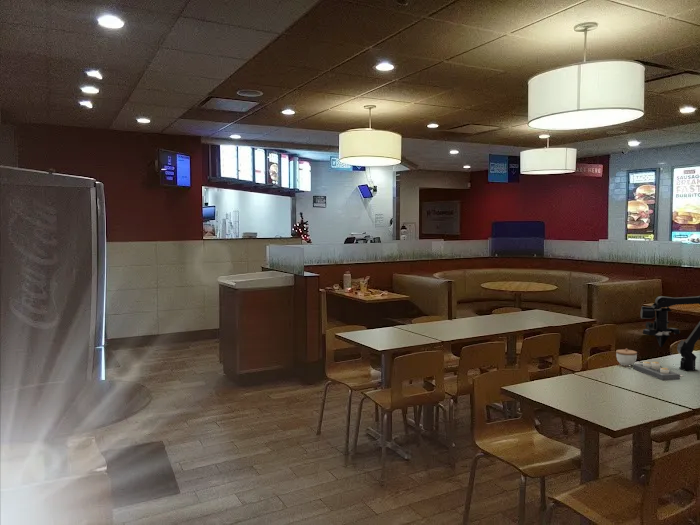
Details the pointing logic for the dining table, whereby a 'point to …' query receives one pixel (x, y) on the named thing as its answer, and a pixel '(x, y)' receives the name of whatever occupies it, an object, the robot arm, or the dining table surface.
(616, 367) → the dining table surface
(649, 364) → the button
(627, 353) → the lidded jar
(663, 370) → the button
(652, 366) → the button
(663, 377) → the board
